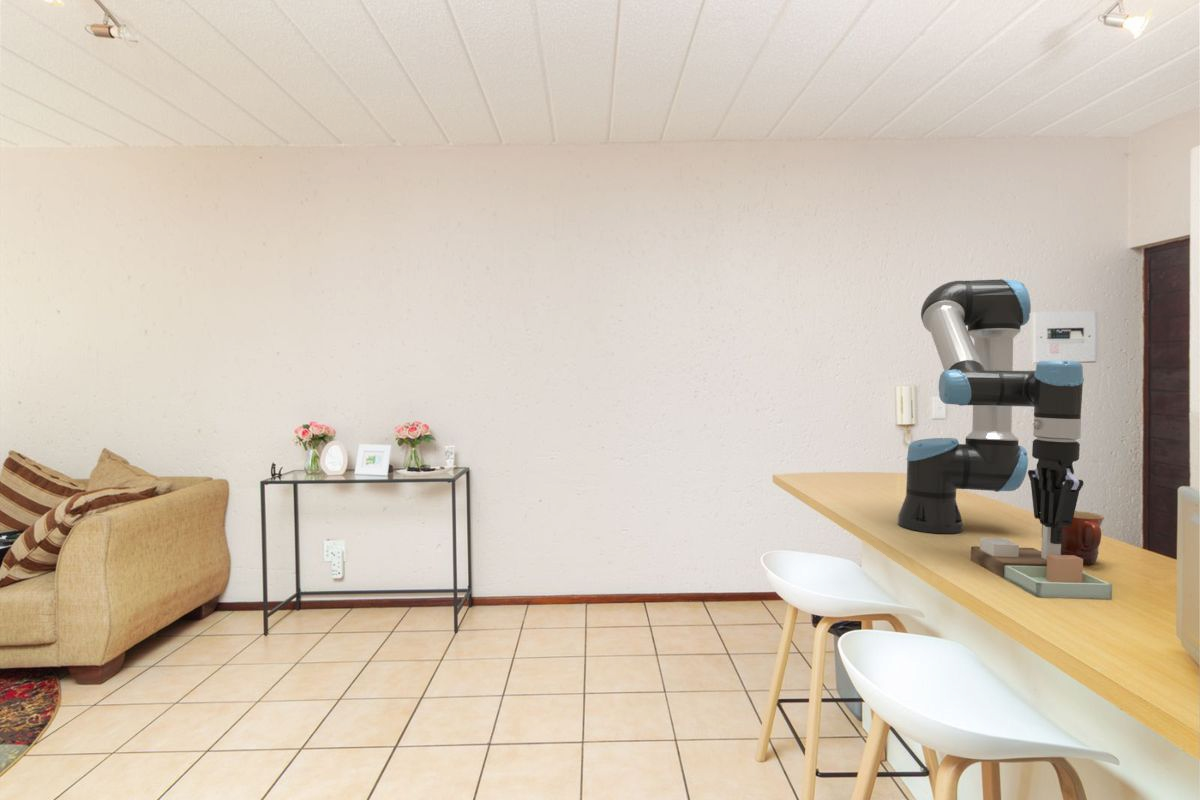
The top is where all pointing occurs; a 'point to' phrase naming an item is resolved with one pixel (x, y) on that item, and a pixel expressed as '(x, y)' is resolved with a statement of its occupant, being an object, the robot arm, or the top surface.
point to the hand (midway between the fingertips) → (1050, 558)
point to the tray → (1056, 584)
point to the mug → (1083, 537)
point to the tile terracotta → (1064, 568)
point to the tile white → (999, 547)
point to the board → (1007, 559)
